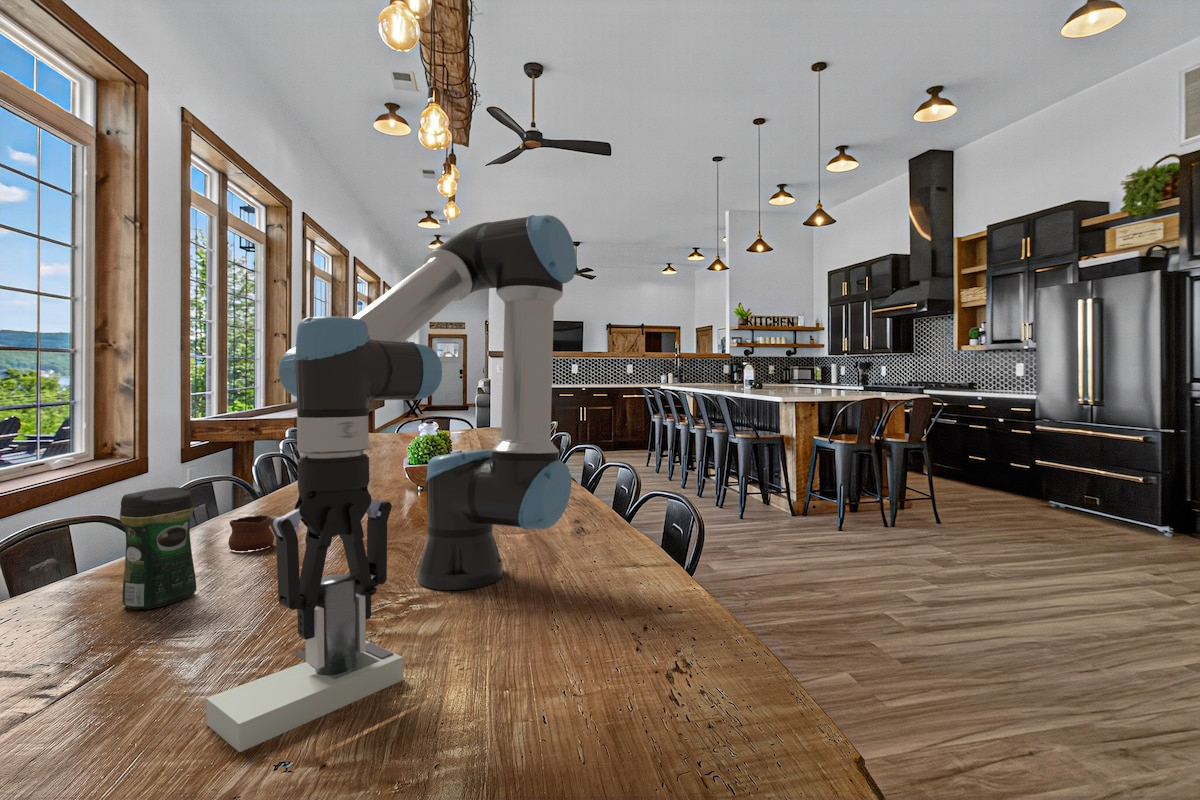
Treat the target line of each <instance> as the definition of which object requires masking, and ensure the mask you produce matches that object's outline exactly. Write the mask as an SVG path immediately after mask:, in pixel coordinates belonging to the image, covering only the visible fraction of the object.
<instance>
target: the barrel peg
mask: <svg viewBox="0 0 1200 800" xmlns="http://www.w3.org/2000/svg"><path fill="white" fill-rule="evenodd" d="M316 606H319V607H322V608H324V667H322V668H319V669H317V668H315V672H316V673H317V674H320V675H337V674H341V673H345V672H347V671H349V670H351V669H353V668H354V667H355V666H356V664H357V637H356V577H355V576H354V575H350V573H348V574H347V573H340V574H339V573H338V574H330V575H326V576H322V580H321V585H320V590H319V595H318V600H317V605H316Z"/></svg>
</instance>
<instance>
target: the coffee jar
mask: <svg viewBox="0 0 1200 800" xmlns="http://www.w3.org/2000/svg"><path fill="white" fill-rule="evenodd" d="M119 511H120V513H119V520H120V522H121V525H122V526H123V529H124V532H125V533H124V534H125V559H124V560H125V561H124V571H123V582H122V595H121V596H122V599H121V600H122V604H123V605H124V606H125V607H126V608H127V609H131V610H136V611H138V610H142V609H148V610H150V609H155V608H160V607H163V606H166V605H170V604H173V603H176V602H179V601H182V600H184V599H187V598H190V597H191V596H193V595H195V593H196V591H197V578H196V577H197V576H196V572H195V571H196V570H195V566H194V565H195V564H194V558H193V553H192V543H191V542H192V541H191V533H190V532H191V530H190V529H191V528H190V526H191V521H192V520H191V519H192V516H193V514H194V504H193V499H192V492H191V491H190V490H189V488H187V487H178V486H177V487H176V486H170V487H169V486H168V487H159V488H153V489H147V490H141V491H136V492H133V493H127V494H124V495H123V496H122V498H121V501H120V510H119Z"/></svg>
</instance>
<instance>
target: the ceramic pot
mask: <svg viewBox="0 0 1200 800" xmlns="http://www.w3.org/2000/svg"><path fill="white" fill-rule="evenodd" d="M271 519H272V517H271V516H270V515H266V514H265V515H264V514H263V515H262V514H261V515H260V514H258V515H252V516H251V515H250V516H244V517H239V518H237V519H231V520H229V526H230V527H231V534H230V536H229V537H228V542H227V543H228V546H229V550H230V549H231V550H235V551H248V550H256V549H261V548H266V547H268V546H271V545H272V546H273V544H274V540H275V534H274V532H273V530H272V529H270V527H271V526H270V520H271Z"/></svg>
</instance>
